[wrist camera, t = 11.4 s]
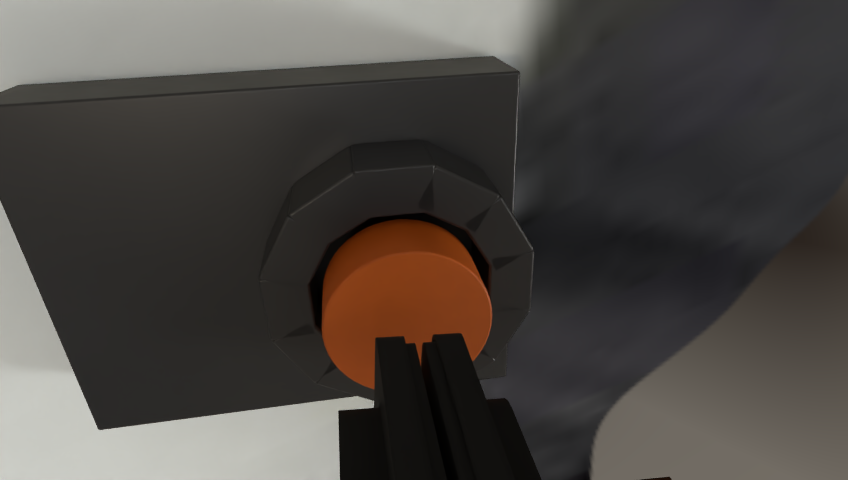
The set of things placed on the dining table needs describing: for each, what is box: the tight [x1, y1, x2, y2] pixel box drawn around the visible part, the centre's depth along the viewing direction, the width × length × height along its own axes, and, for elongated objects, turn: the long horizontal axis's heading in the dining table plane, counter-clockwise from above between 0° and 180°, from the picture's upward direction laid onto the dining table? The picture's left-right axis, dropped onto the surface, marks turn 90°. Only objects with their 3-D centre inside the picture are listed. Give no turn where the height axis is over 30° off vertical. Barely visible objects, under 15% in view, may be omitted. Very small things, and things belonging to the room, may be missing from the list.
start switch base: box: [0, 56, 534, 430], centre depth 15 cm, size 13×10×4 cm
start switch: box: [322, 219, 492, 389], centre depth 13 cm, size 4×4×2 cm
